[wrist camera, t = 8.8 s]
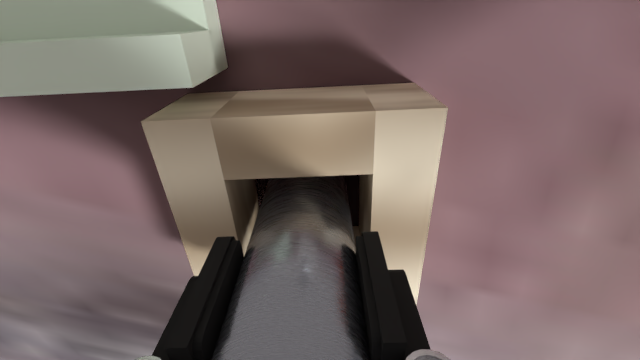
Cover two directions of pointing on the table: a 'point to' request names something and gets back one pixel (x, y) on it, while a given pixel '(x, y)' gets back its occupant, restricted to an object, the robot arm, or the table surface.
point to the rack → (107, 45)
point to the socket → (301, 160)
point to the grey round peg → (298, 279)
